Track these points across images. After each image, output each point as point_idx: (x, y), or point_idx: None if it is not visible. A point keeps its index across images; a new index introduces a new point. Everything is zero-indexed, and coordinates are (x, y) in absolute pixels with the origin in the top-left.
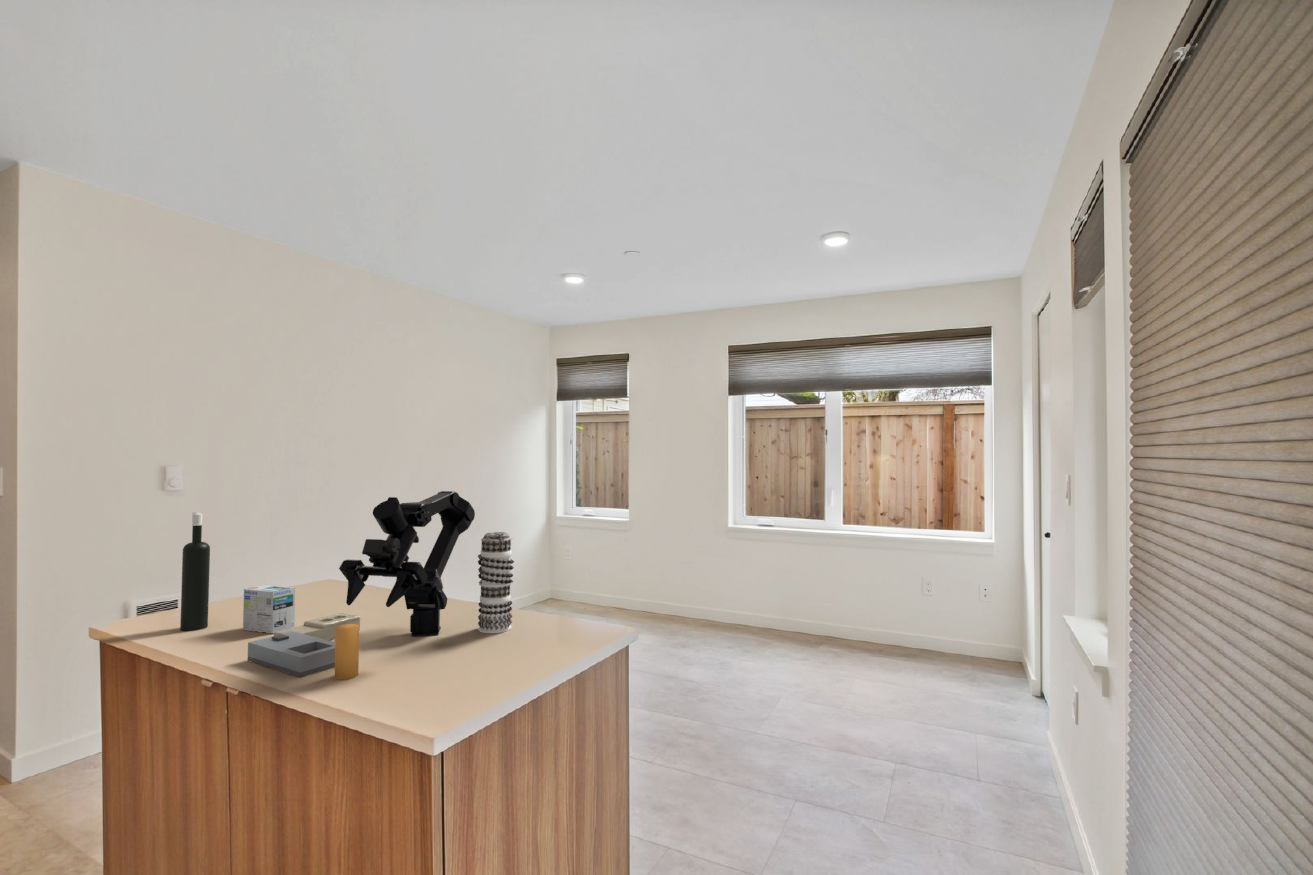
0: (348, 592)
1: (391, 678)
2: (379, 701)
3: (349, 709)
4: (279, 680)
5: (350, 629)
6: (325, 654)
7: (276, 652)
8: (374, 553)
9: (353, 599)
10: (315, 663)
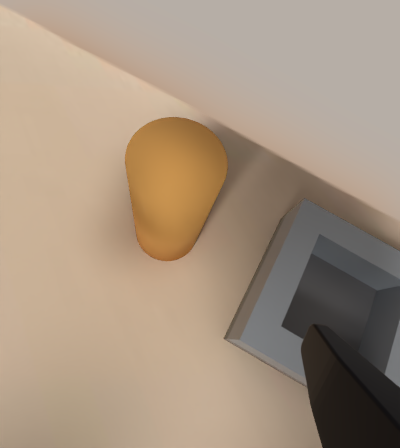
0: (391, 387)
1: (26, 213)
2: (11, 73)
3: (64, 43)
4: (316, 201)
5: (145, 127)
6: (268, 268)
7: None
8: None
9: (319, 408)
10: (274, 246)
